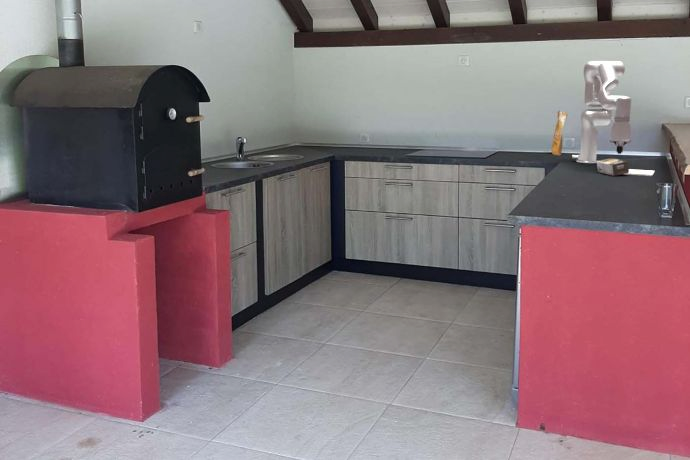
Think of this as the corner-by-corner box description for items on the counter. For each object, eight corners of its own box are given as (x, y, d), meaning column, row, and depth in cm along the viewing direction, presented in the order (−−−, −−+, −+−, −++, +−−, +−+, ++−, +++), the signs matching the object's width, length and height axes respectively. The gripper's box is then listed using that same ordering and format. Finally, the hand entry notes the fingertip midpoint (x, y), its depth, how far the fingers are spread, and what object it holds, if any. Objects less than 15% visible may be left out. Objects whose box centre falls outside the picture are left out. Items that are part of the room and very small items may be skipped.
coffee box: (611, 157, 401) (628, 160, 385) (612, 168, 402) (629, 172, 387) (596, 161, 399) (612, 164, 384) (597, 172, 401) (614, 176, 385)
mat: (612, 173, 395) (613, 172, 395) (616, 170, 409) (617, 168, 409) (651, 176, 386) (651, 174, 386) (654, 172, 400) (654, 170, 400)
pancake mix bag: (560, 152, 493) (562, 110, 487) (565, 155, 474) (568, 112, 468) (549, 152, 493) (552, 110, 487) (554, 155, 475) (557, 112, 469)
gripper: (606, 119, 395) (604, 153, 399) (636, 120, 388) (633, 155, 392) (608, 118, 402) (606, 152, 405) (637, 119, 395) (634, 153, 399)
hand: (619, 153), depth 399 cm, fingers closed
